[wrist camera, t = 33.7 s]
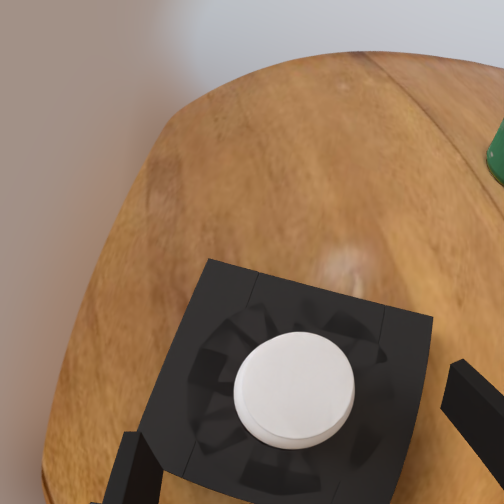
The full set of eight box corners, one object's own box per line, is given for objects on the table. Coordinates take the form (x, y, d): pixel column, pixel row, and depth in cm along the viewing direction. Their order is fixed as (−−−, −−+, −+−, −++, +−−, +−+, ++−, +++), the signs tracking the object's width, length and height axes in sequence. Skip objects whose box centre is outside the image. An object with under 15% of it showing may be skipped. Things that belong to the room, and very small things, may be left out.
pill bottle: (242, 436, 20) (214, 450, 11) (250, 359, 23) (230, 310, 14) (327, 440, 19) (369, 455, 10) (331, 362, 23) (371, 316, 13)
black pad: (144, 449, 20) (128, 452, 17) (214, 275, 27) (208, 257, 24) (369, 514, 16) (380, 525, 13) (418, 328, 23) (433, 316, 21)
